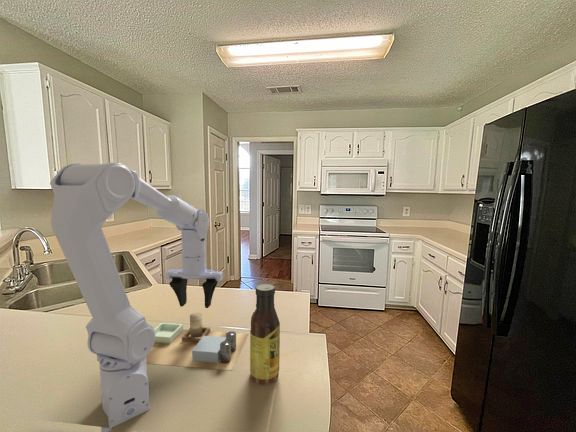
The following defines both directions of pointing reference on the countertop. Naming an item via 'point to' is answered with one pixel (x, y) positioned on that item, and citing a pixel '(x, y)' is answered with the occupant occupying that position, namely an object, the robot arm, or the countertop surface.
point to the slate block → (208, 349)
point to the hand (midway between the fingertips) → (195, 305)
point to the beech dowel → (196, 324)
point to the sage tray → (167, 332)
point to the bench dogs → (227, 347)
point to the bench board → (182, 351)
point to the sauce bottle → (264, 337)
